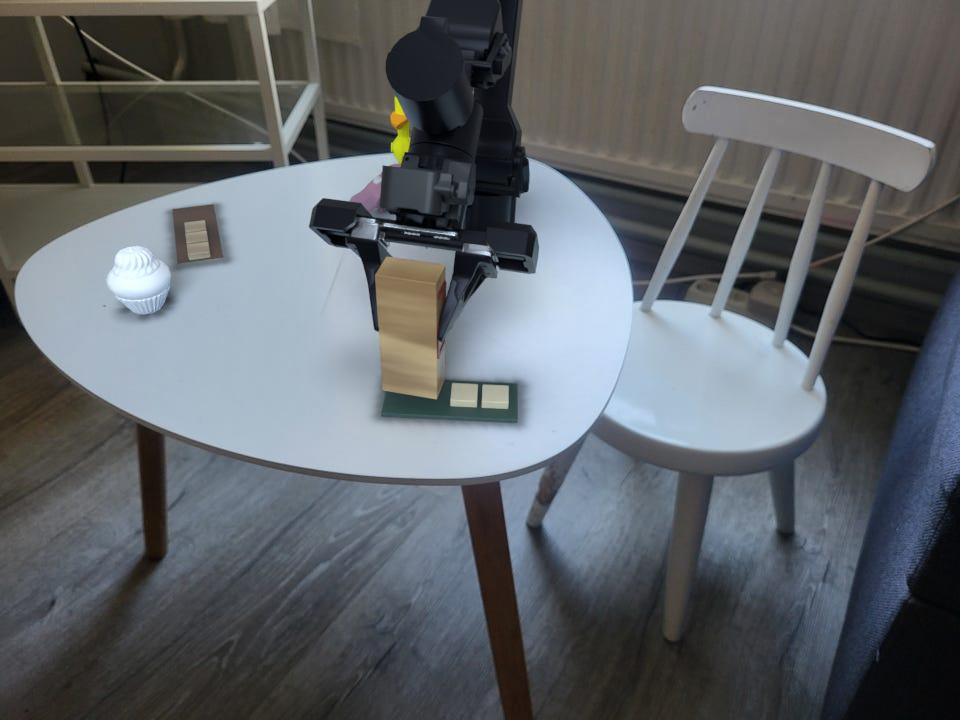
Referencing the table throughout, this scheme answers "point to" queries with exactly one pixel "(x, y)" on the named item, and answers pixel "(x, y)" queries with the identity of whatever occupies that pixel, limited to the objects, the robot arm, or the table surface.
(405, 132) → the toy figure
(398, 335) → the wooden block
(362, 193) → the pink toy car
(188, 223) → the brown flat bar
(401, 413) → the dark green board
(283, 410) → the table surface
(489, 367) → the table surface
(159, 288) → the muffin
